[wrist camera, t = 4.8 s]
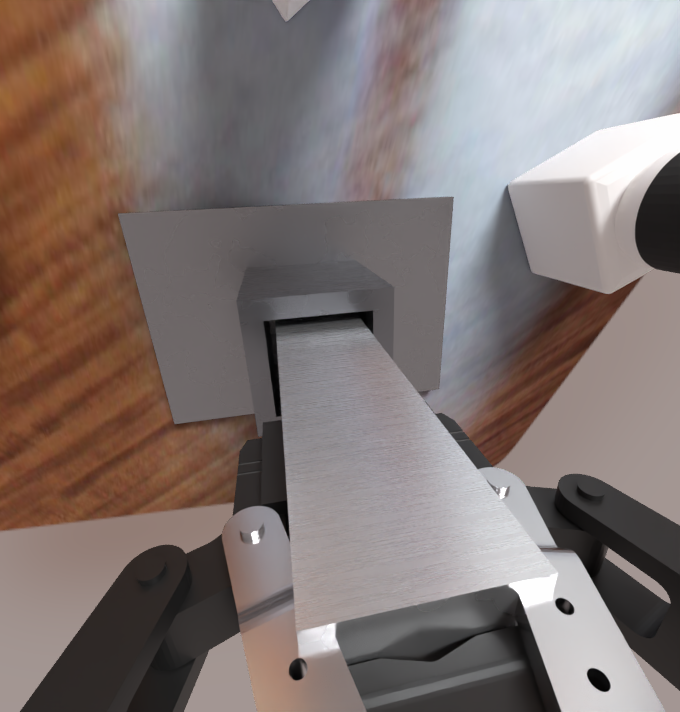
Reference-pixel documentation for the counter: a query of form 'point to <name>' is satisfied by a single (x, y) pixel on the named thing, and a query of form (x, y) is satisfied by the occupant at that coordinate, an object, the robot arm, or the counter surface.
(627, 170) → the medicine bottle
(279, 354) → the column
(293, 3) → the milk
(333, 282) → the stand
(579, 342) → the counter surface
